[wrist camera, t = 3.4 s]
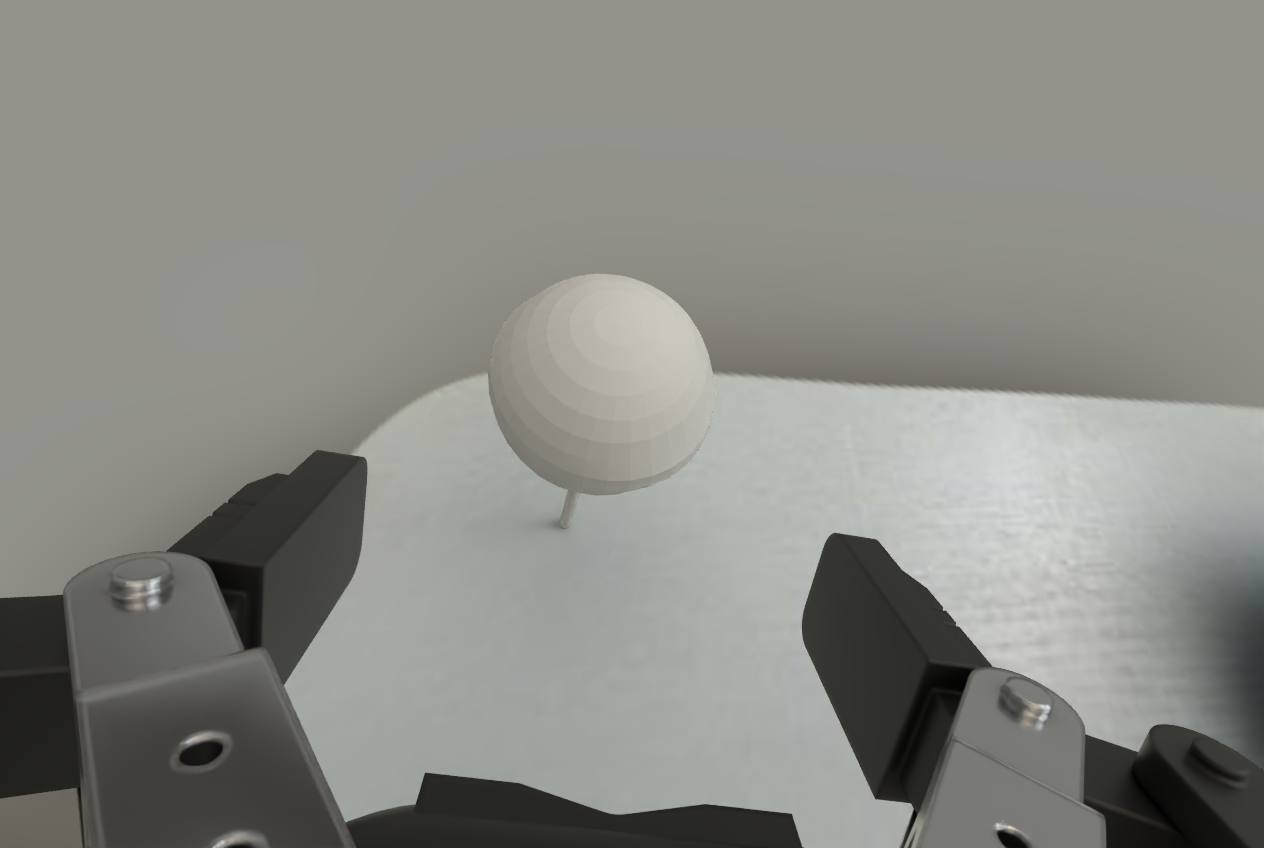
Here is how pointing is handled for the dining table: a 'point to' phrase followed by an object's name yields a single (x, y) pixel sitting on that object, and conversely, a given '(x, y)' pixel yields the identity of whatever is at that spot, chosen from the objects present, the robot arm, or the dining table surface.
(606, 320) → the lollipop
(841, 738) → the dining table surface
